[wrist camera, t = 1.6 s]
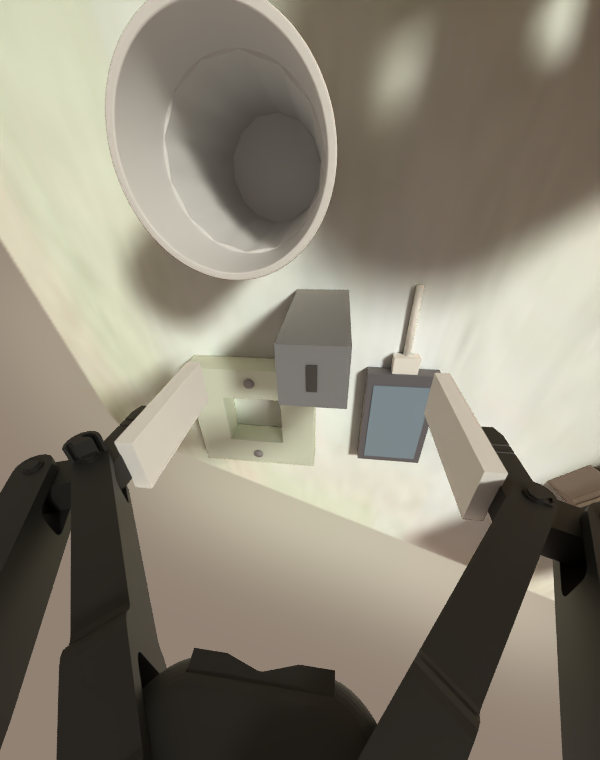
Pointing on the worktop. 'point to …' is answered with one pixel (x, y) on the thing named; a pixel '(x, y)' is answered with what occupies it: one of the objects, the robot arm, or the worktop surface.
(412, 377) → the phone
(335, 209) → the worktop surface
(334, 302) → the block
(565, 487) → the toaster
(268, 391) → the outlet plate
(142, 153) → the cup
